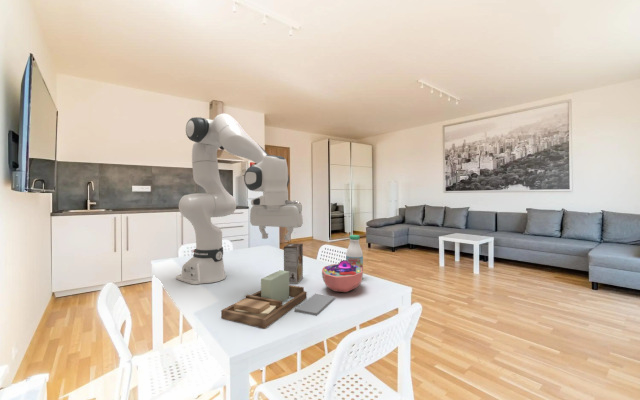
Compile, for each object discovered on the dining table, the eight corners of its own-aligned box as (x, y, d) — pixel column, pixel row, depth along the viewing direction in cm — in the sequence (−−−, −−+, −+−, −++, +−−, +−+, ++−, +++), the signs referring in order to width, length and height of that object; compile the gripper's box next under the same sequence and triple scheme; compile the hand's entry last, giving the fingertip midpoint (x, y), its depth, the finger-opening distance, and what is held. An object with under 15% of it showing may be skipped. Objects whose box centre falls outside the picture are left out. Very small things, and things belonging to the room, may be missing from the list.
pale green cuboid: (261, 307, 97) (261, 278, 97) (280, 296, 108) (280, 270, 108) (270, 309, 95) (270, 280, 95) (289, 297, 106) (289, 271, 106)
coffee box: (289, 277, 132) (289, 243, 132) (303, 278, 131) (303, 243, 131) (283, 283, 123) (283, 246, 123) (297, 284, 122) (297, 247, 122)
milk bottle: (344, 276, 134) (344, 234, 133) (360, 276, 134) (361, 234, 134) (347, 281, 126) (347, 236, 125) (364, 281, 127) (364, 236, 126)
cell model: (312, 293, 111) (312, 264, 110) (333, 280, 128) (334, 255, 128) (353, 301, 103) (353, 270, 102) (370, 285, 120) (370, 259, 120)
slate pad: (294, 311, 94) (294, 309, 94) (315, 295, 108) (315, 293, 108) (316, 315, 90) (316, 313, 90) (334, 298, 105) (334, 296, 105)
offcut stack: (229, 319, 89) (229, 304, 89) (242, 310, 96) (242, 297, 95) (267, 324, 85) (267, 309, 85) (277, 315, 92) (277, 301, 92)
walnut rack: (221, 318, 88) (221, 305, 88) (269, 291, 112) (269, 281, 112) (264, 328, 82) (264, 314, 82) (306, 298, 106) (306, 287, 105)
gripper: (305, 200, 99) (306, 239, 100) (258, 200, 108) (258, 236, 108) (297, 200, 94) (297, 242, 94) (247, 200, 102) (247, 238, 102)
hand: (276, 239), depth 101 cm, fingers open, 8 cm apart
